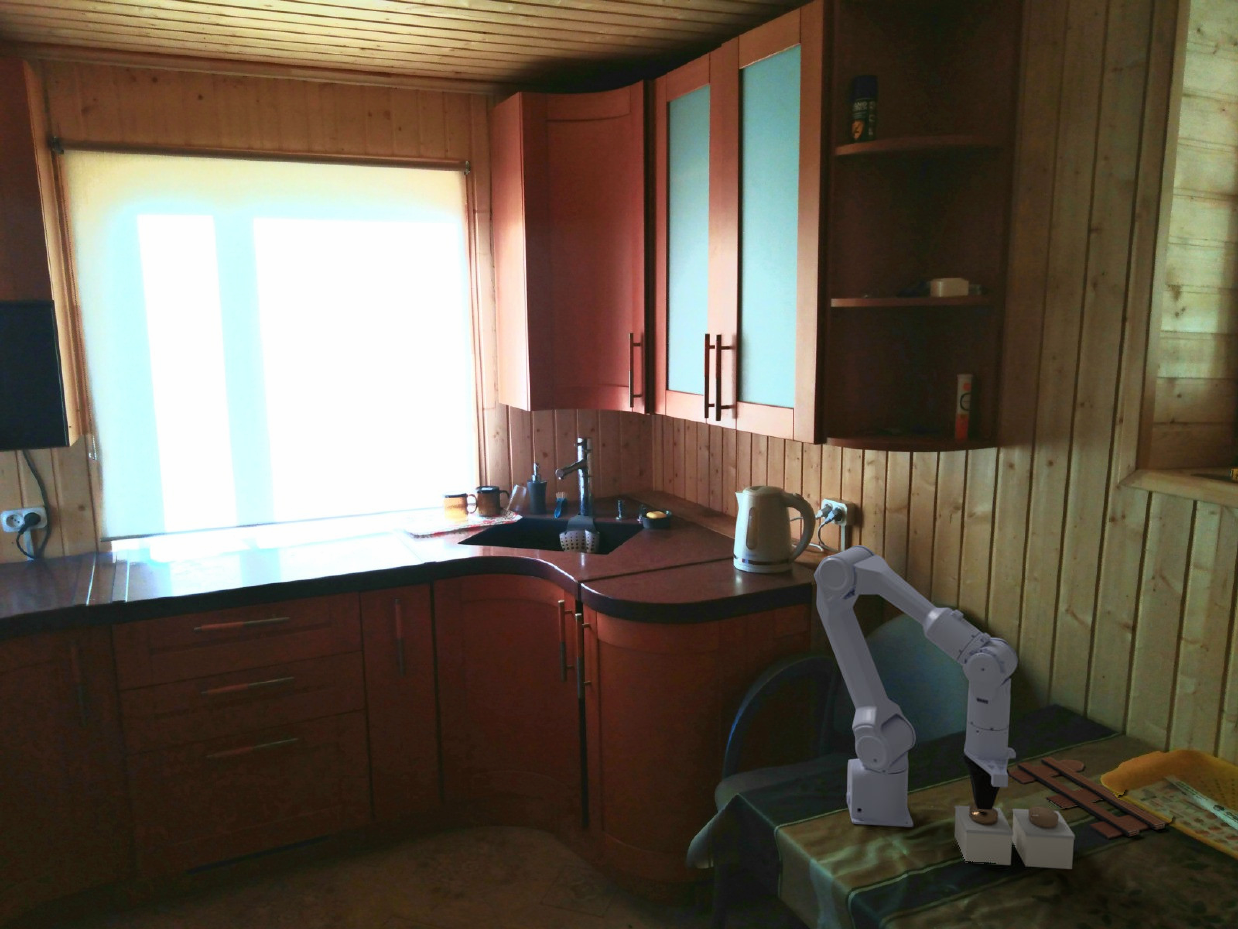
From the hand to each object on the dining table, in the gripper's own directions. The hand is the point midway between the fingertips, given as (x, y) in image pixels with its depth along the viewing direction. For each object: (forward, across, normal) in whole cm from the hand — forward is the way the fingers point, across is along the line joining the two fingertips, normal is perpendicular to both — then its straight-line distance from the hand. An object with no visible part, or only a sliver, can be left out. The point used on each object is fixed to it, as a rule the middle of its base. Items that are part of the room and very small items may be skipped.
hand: (983, 807), depth 128 cm
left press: (+7, 0, 0) cm, 7 cm away
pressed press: (+7, 0, -9) cm, 11 cm away
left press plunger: (+6, 0, 0) cm, 6 cm away
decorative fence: (+8, +18, -22) cm, 30 cm away
